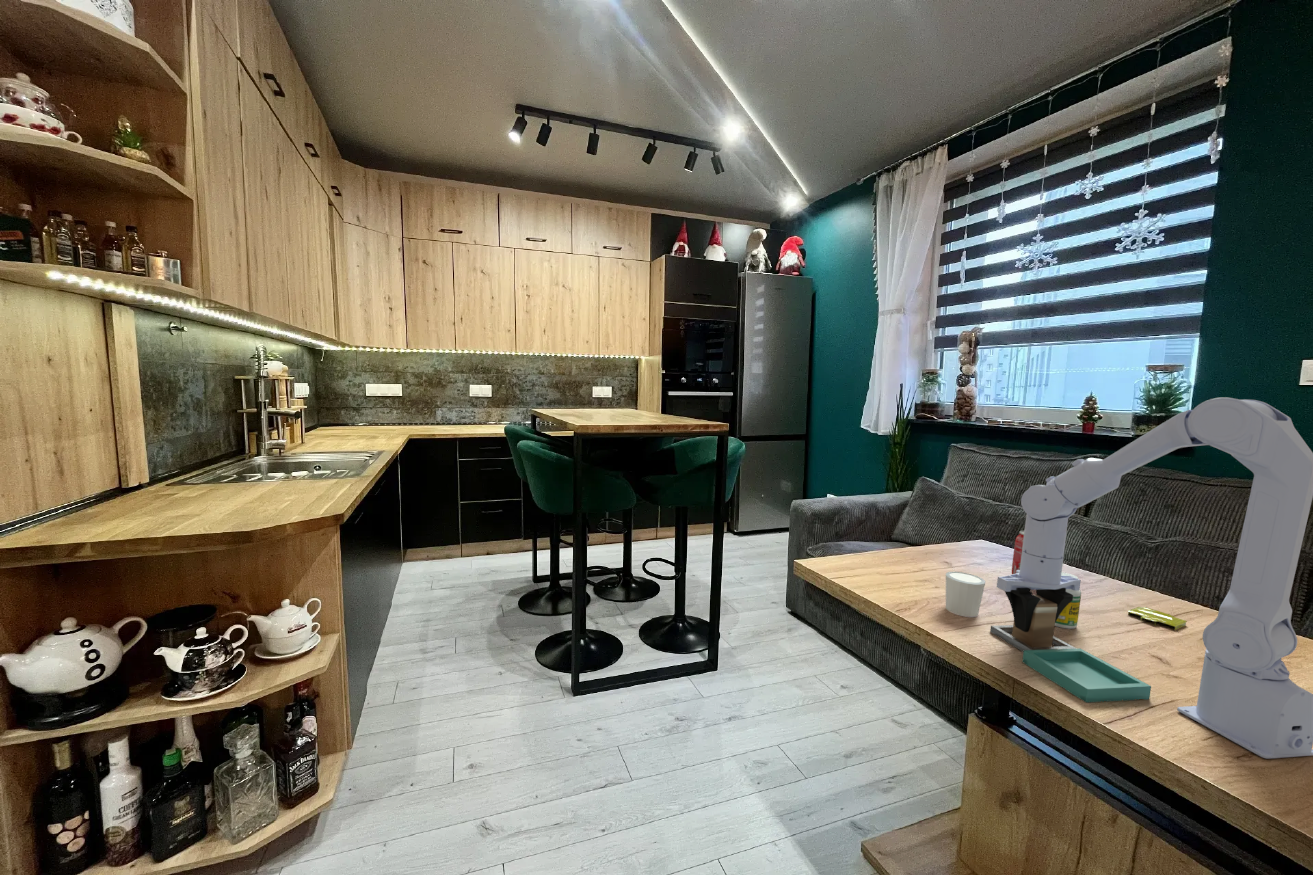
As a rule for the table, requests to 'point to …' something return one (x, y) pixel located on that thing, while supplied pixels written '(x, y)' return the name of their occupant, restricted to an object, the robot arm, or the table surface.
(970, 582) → the white cup
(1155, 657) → the table surface
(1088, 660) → the tray
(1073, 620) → the supplement bottle
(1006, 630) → the holder collar
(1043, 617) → the brown tall block
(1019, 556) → the soda can
